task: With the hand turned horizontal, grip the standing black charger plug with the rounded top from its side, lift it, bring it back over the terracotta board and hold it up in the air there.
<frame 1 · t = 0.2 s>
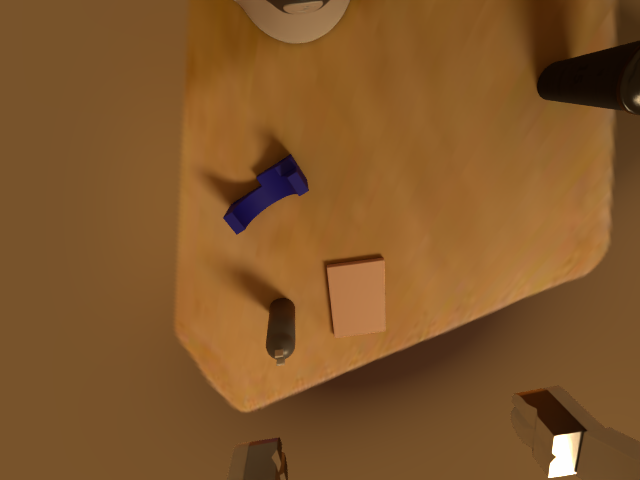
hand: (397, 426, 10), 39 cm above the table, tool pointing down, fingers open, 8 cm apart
blue u-shaped bracket: (266, 187, 46), on the table
charger plug: (282, 308, 56), on the table
drinking cup: (553, 81, 43), on the table
board: (357, 298, 56), on the table
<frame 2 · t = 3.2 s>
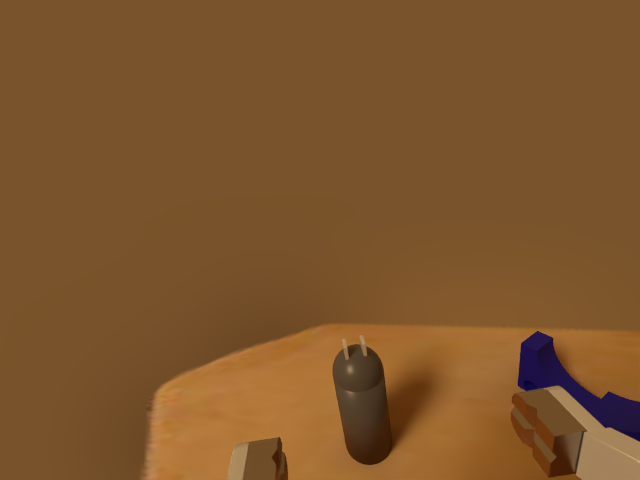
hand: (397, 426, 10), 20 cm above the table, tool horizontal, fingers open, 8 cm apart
blue u-shaped bracket: (594, 416, 29), on the table
charger plug: (368, 440, 30), on the table
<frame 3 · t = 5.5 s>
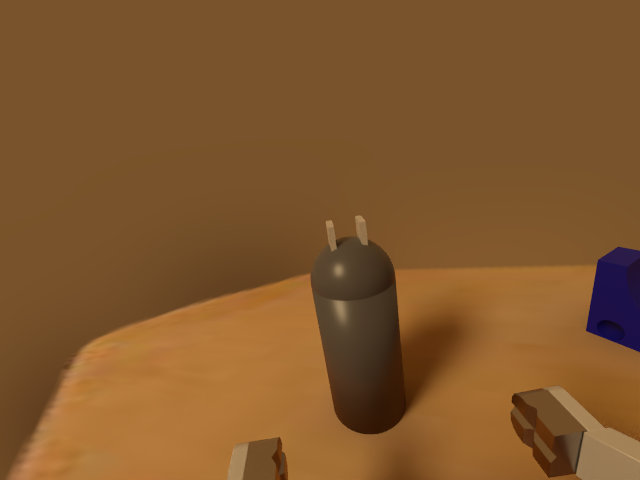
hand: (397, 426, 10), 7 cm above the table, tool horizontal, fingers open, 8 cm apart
charger plug: (368, 400, 20), on the table
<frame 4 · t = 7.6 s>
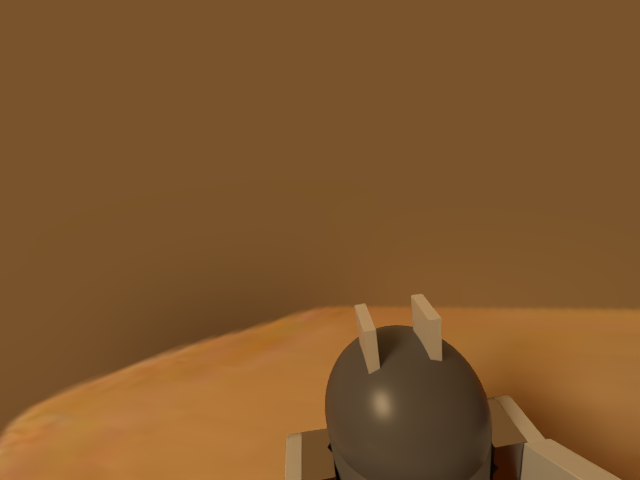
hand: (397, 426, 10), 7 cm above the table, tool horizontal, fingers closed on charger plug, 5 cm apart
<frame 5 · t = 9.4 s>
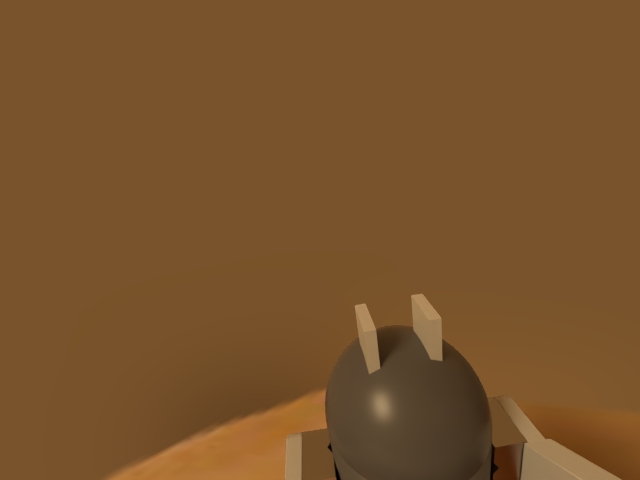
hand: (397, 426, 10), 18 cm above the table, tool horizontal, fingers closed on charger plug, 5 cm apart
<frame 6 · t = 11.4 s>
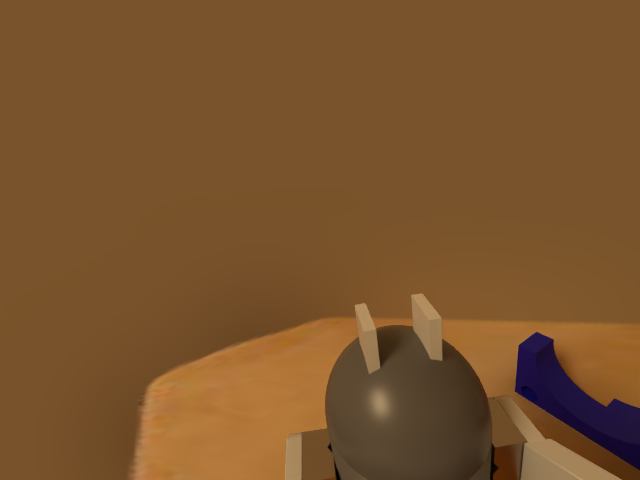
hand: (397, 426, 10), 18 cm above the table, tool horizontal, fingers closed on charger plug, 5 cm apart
blue u-shaped bracket: (599, 425, 27), on the table
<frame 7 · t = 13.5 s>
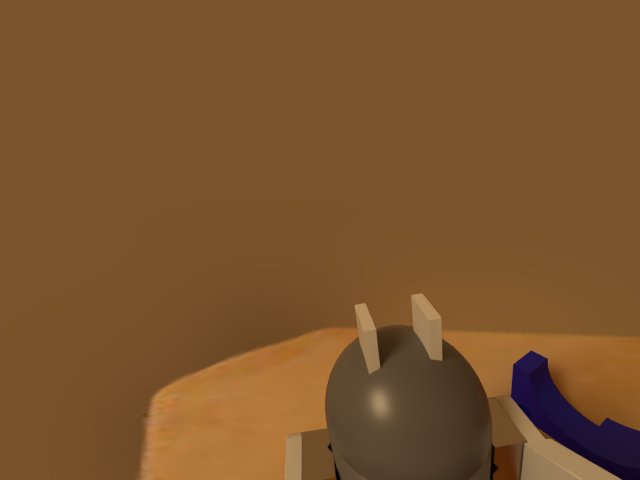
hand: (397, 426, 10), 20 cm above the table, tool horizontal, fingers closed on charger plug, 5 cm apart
blue u-shaped bracket: (592, 444, 27), on the table
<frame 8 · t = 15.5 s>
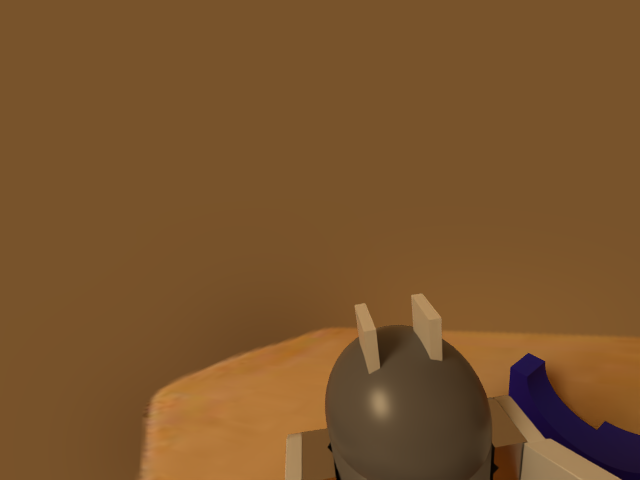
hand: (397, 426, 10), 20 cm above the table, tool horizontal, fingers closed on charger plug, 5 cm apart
blue u-shaped bracket: (590, 448, 27), on the table
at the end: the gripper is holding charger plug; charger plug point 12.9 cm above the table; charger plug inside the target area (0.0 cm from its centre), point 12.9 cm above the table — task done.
